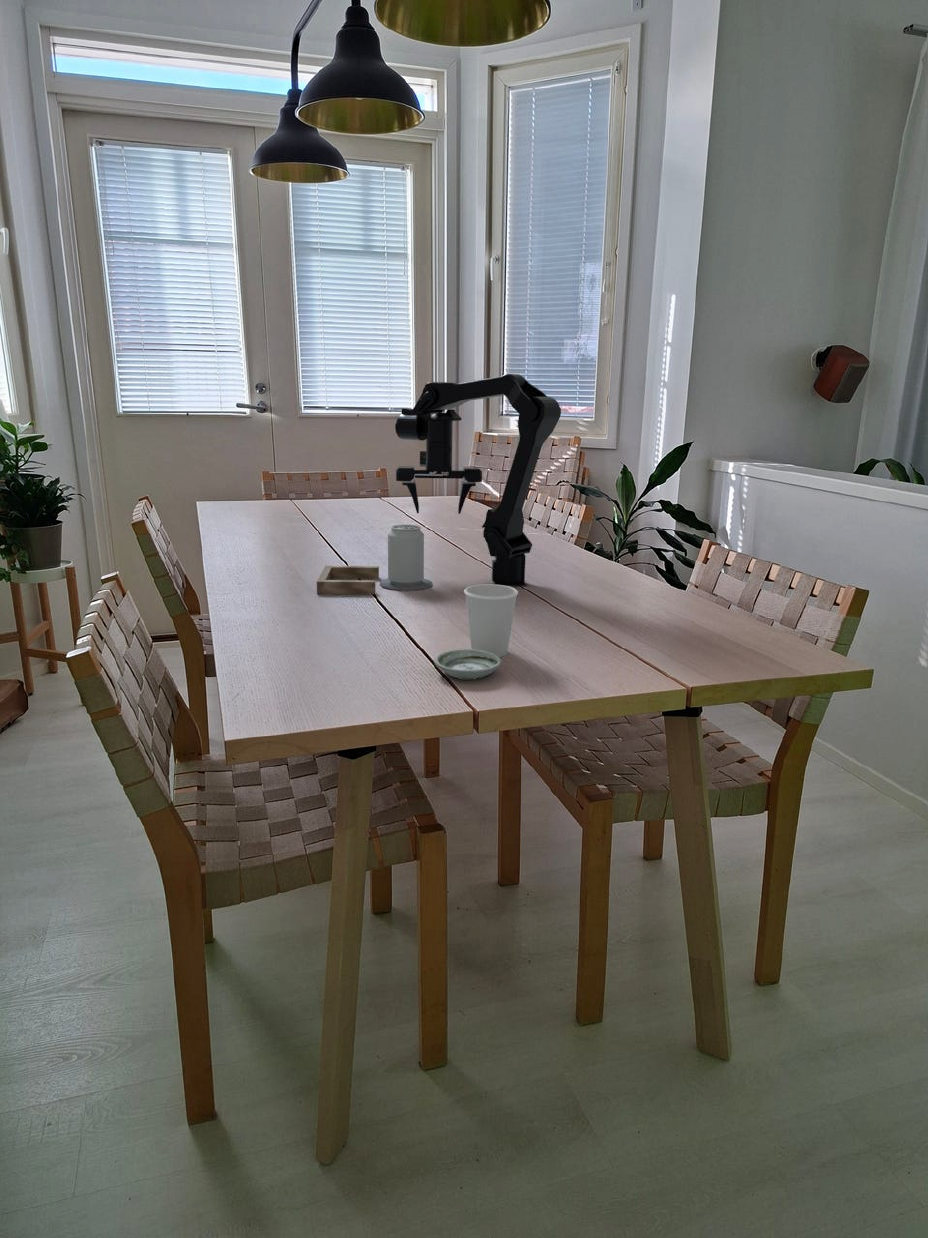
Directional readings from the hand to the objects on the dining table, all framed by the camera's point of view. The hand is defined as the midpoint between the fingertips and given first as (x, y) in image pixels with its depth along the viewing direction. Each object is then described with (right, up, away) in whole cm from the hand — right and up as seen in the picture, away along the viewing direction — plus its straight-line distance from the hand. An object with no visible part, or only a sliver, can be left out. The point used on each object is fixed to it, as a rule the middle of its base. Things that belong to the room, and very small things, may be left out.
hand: (438, 513), depth 180 cm
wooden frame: (-17, -17, -12) cm, 27 cm away
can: (-7, -16, -10) cm, 20 cm away
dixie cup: (+10, -29, -53) cm, 61 cm away
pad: (-7, -16, -10) cm, 20 cm away
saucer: (+6, -32, -62) cm, 70 cm away
